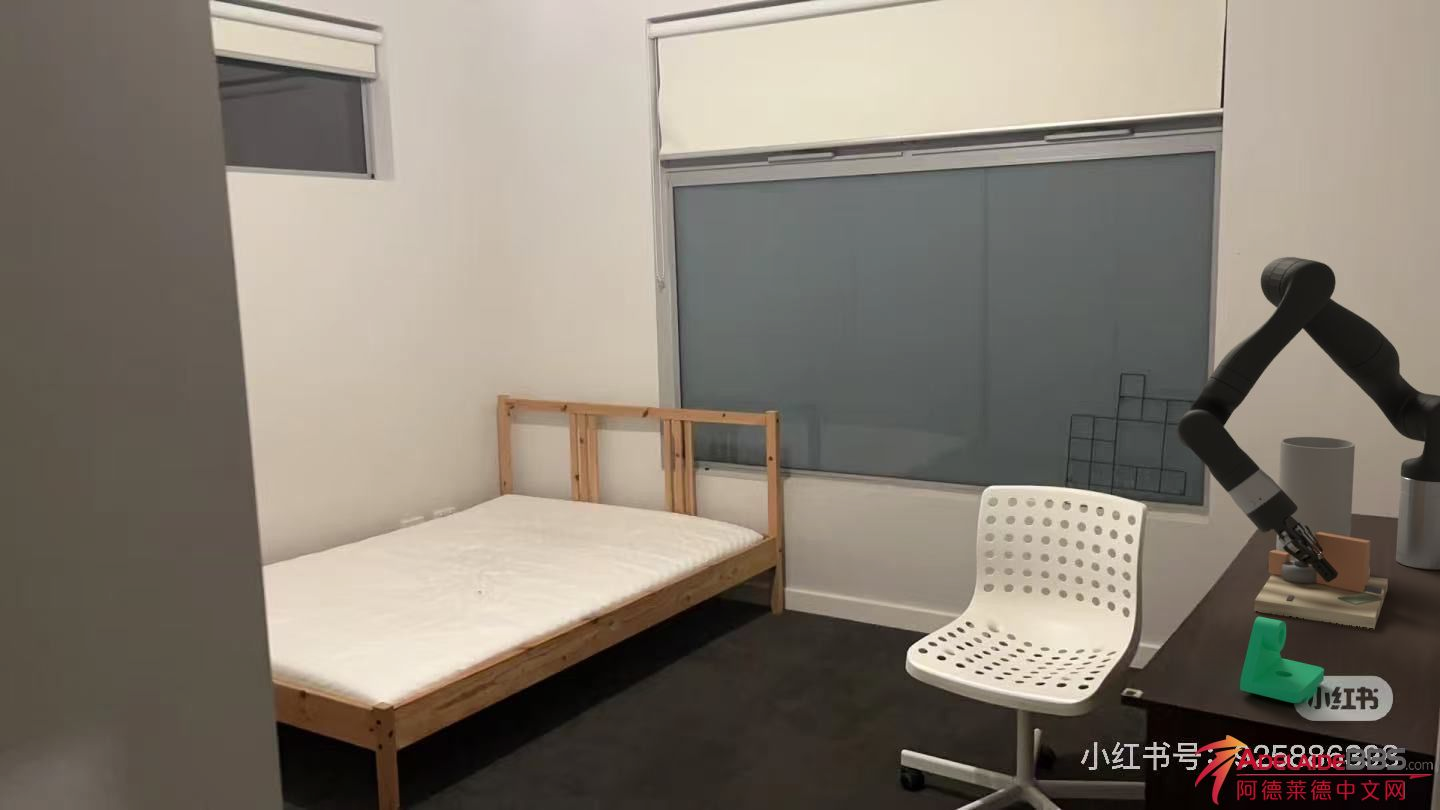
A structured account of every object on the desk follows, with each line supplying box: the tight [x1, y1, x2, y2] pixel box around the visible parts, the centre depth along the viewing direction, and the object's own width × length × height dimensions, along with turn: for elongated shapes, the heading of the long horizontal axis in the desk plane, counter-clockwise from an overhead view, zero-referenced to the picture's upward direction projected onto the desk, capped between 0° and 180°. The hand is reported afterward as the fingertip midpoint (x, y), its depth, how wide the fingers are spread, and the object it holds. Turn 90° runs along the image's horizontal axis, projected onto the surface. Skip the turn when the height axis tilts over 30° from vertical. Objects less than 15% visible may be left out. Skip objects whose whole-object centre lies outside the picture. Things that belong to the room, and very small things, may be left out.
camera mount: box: [1239, 616, 1325, 704], centre depth 156 cm, size 12×8×10 cm, turn 135°
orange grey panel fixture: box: [1268, 532, 1382, 594], centre depth 195 cm, size 19×6×9 cm, turn 37°
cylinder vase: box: [1275, 436, 1356, 560], centre depth 210 cm, size 12×12×25 cm
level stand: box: [1253, 567, 1389, 630], centre depth 193 cm, size 24×18×6 cm
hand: (1333, 578), depth 190 cm, fingers closed
